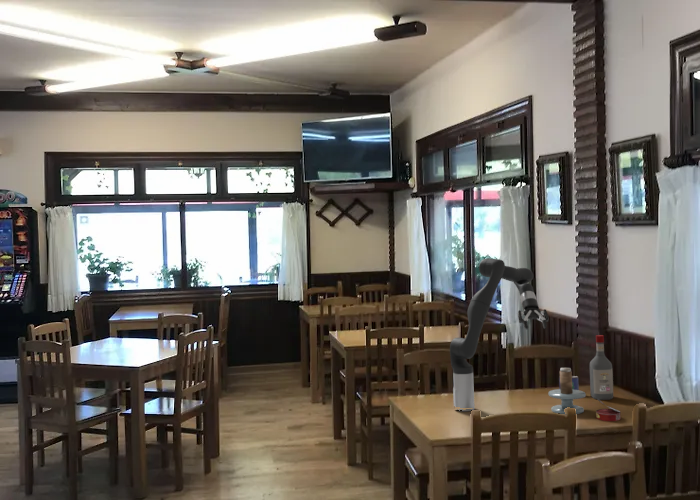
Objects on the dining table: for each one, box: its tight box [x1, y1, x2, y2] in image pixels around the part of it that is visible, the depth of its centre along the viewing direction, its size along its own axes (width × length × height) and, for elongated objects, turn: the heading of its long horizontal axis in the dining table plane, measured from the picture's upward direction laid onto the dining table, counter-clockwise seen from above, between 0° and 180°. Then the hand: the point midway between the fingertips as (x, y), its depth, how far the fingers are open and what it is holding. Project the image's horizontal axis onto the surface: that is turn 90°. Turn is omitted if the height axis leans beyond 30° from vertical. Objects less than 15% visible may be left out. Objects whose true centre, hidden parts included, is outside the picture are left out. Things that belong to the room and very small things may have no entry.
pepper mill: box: [559, 367, 573, 394], centre depth 315 cm, size 5×5×11 cm
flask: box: [558, 375, 580, 390], centre depth 345 cm, size 9×3×11 cm, turn 78°
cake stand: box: [548, 388, 586, 415], centre depth 315 cm, size 16×16×8 cm
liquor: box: [589, 334, 614, 401], centre depth 336 cm, size 9×9×30 cm
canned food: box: [595, 399, 621, 422], centre depth 300 cm, size 11×10×10 cm
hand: (536, 328), depth 337 cm, fingers open, 8 cm apart
